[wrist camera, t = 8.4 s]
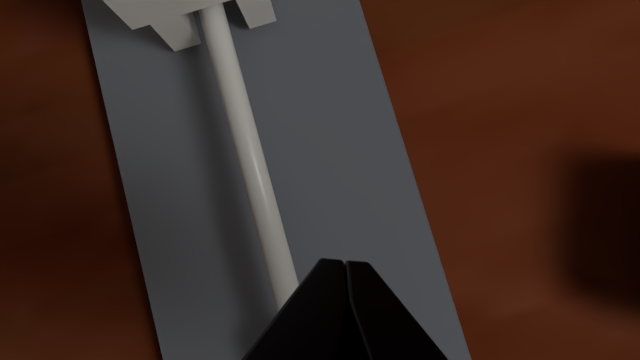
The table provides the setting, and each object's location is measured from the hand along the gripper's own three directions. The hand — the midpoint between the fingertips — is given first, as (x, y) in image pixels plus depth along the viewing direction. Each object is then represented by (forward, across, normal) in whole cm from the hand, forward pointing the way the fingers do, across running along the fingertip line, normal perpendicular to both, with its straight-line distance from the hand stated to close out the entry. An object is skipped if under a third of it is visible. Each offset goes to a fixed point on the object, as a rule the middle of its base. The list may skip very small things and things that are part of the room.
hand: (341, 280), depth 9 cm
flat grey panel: (+16, +4, +3) cm, 16 cm away
